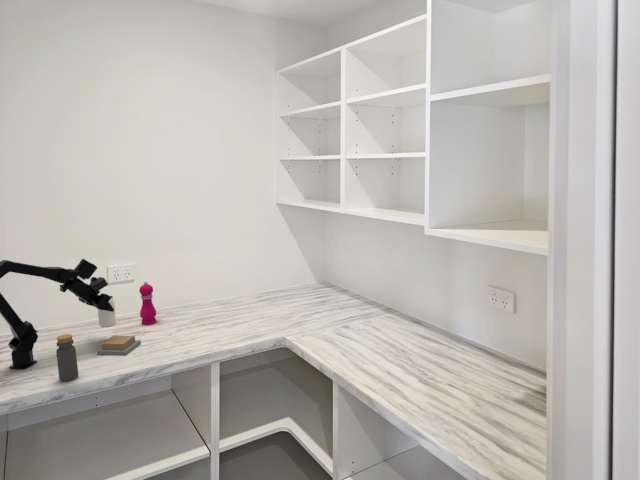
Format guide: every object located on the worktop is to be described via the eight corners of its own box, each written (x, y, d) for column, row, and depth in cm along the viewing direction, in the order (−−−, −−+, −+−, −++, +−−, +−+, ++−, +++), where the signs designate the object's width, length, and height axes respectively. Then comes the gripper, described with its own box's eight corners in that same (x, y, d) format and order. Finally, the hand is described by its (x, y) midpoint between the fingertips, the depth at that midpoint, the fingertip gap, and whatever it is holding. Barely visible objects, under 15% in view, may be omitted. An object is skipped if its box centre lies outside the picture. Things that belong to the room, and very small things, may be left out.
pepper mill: (137, 324, 215) (133, 282, 212) (147, 319, 222) (144, 279, 219) (150, 325, 213) (147, 283, 210) (160, 320, 220) (157, 279, 217)
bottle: (81, 373, 163) (77, 333, 161) (73, 381, 158) (68, 339, 155) (64, 374, 163) (60, 333, 161) (56, 381, 157) (51, 339, 155)
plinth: (125, 355, 179) (125, 345, 178) (96, 354, 180) (95, 344, 180) (140, 343, 191) (139, 334, 190) (113, 343, 192) (112, 334, 191)
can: (108, 328, 191) (106, 299, 189) (95, 326, 193) (93, 298, 191) (119, 323, 197) (117, 295, 195) (107, 322, 199) (104, 295, 197)
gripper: (103, 275, 182) (132, 296, 192) (83, 269, 194) (111, 289, 204) (85, 299, 178) (115, 319, 187) (65, 291, 190) (95, 311, 199)
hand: (109, 309), depth 195 cm, fingers closed on can, 6 cm apart
